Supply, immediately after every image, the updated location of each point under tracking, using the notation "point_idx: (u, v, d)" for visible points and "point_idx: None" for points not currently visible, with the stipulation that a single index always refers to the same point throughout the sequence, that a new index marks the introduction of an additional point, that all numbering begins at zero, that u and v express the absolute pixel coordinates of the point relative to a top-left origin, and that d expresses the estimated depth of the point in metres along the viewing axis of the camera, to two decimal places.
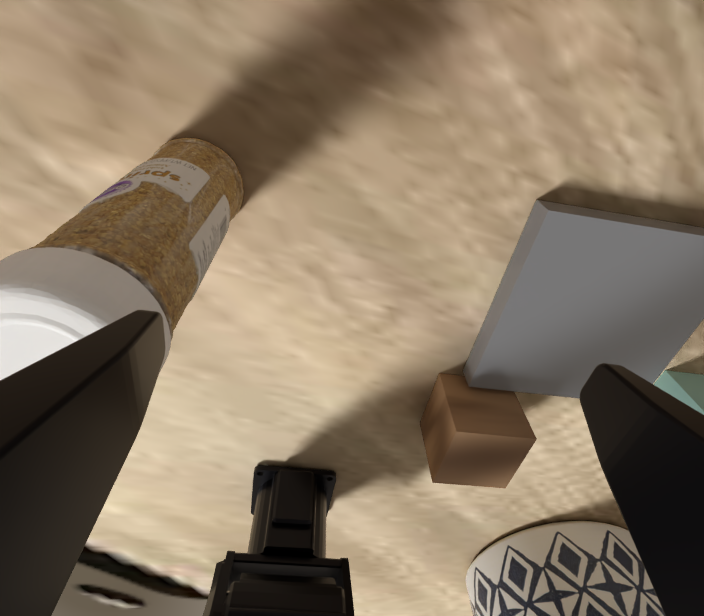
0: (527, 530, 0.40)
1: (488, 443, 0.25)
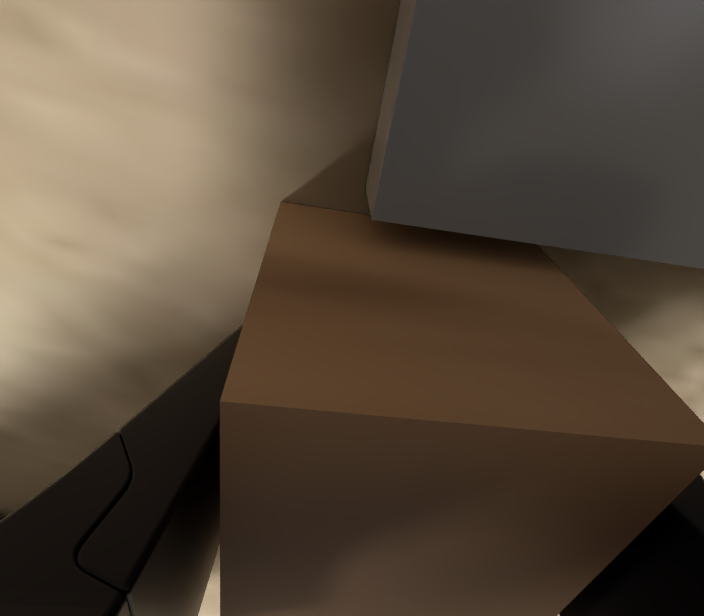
0: None
1: (440, 473, 0.04)
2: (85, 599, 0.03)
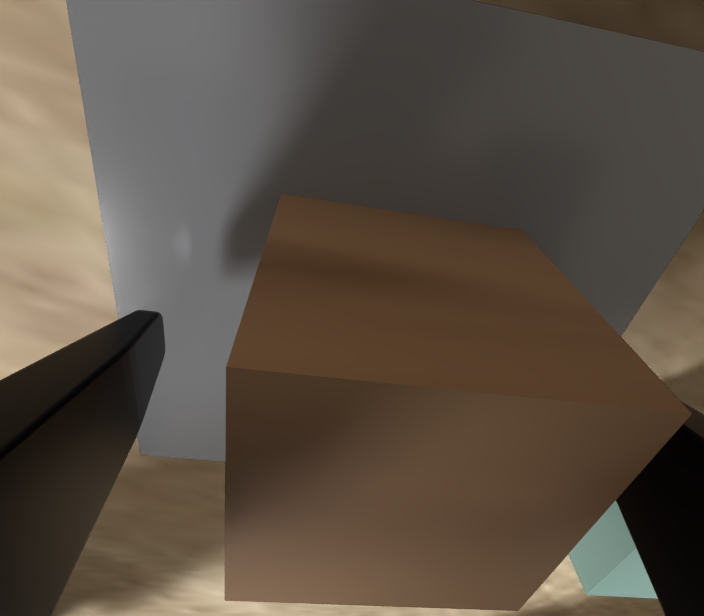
0: None
1: (429, 437, 0.05)
2: None
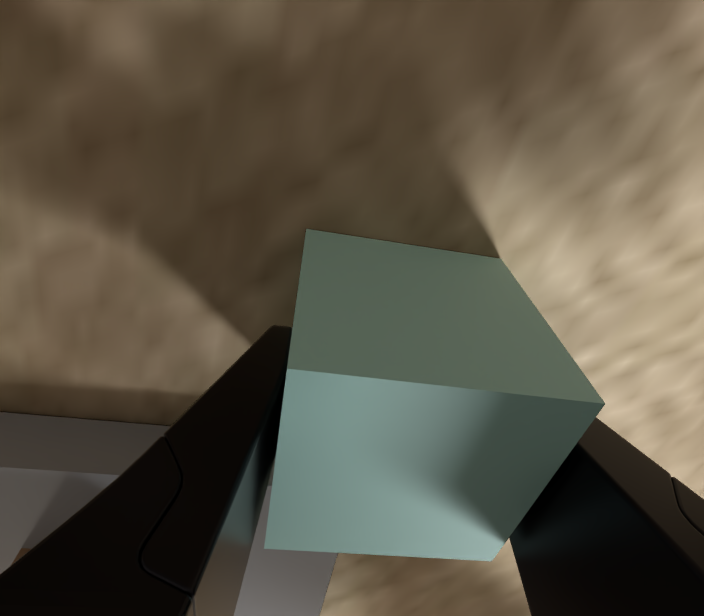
0: None
1: None
2: (154, 602, 0.03)
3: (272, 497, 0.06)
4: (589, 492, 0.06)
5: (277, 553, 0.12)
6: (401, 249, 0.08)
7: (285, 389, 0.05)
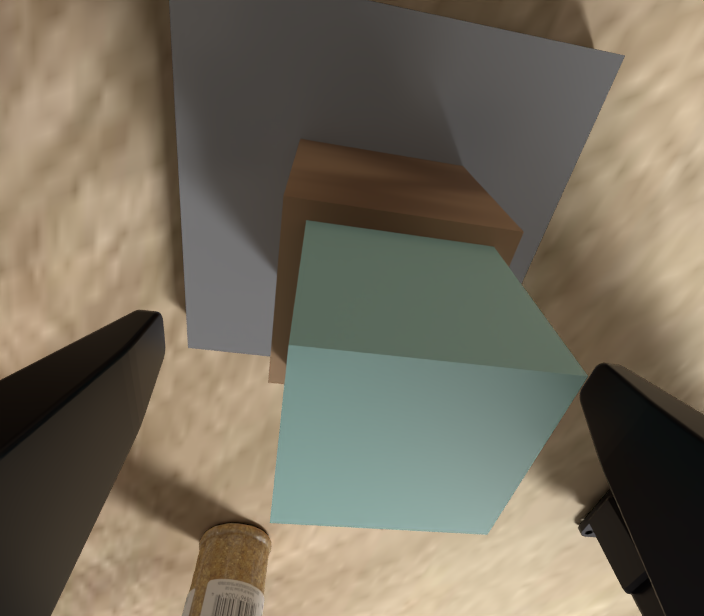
0: None
1: None
2: None
3: (277, 471, 0.07)
4: None
5: (521, 162, 0.13)
6: (396, 238, 0.08)
7: (287, 365, 0.05)
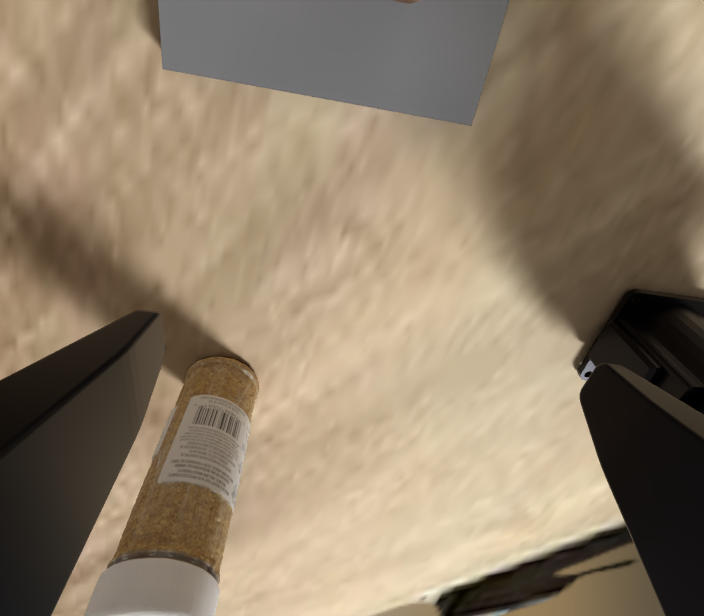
0: None
1: None
2: None
3: None
4: None
5: None
6: None
7: None
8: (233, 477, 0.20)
